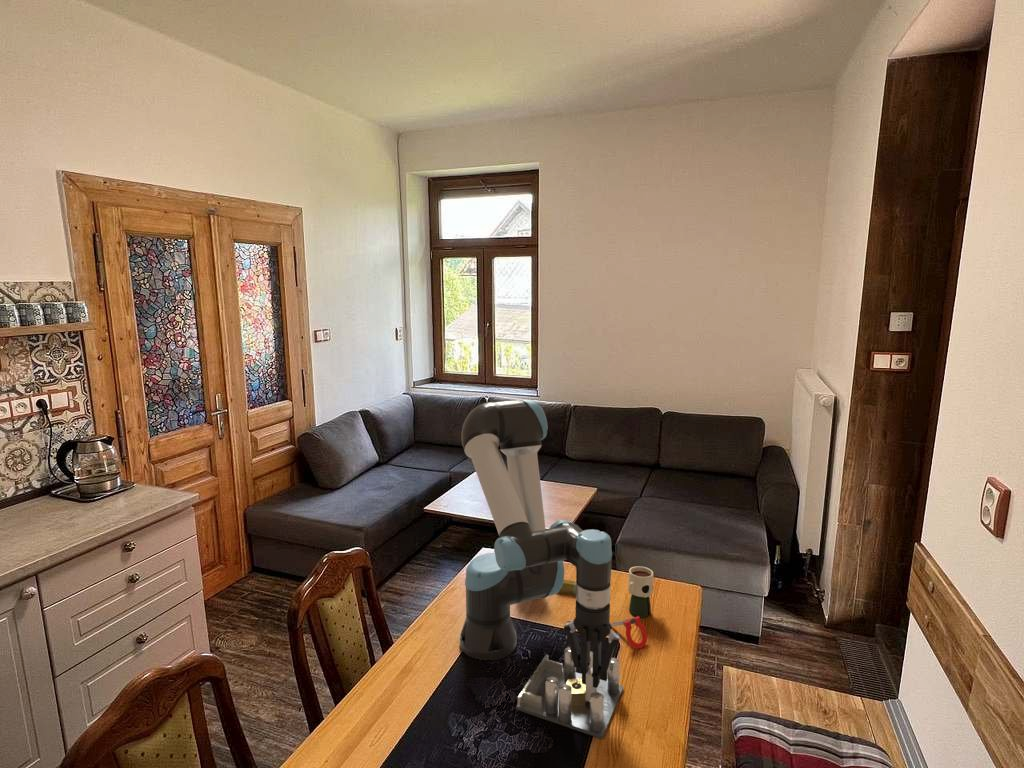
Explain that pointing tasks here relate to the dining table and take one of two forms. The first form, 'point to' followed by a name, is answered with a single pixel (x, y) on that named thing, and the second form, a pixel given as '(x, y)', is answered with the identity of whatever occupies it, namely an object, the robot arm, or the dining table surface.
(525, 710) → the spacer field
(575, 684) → the nut
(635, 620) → the tow hook
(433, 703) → the dining table surface
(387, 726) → the dining table surface
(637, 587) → the character mug
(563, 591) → the medication box
